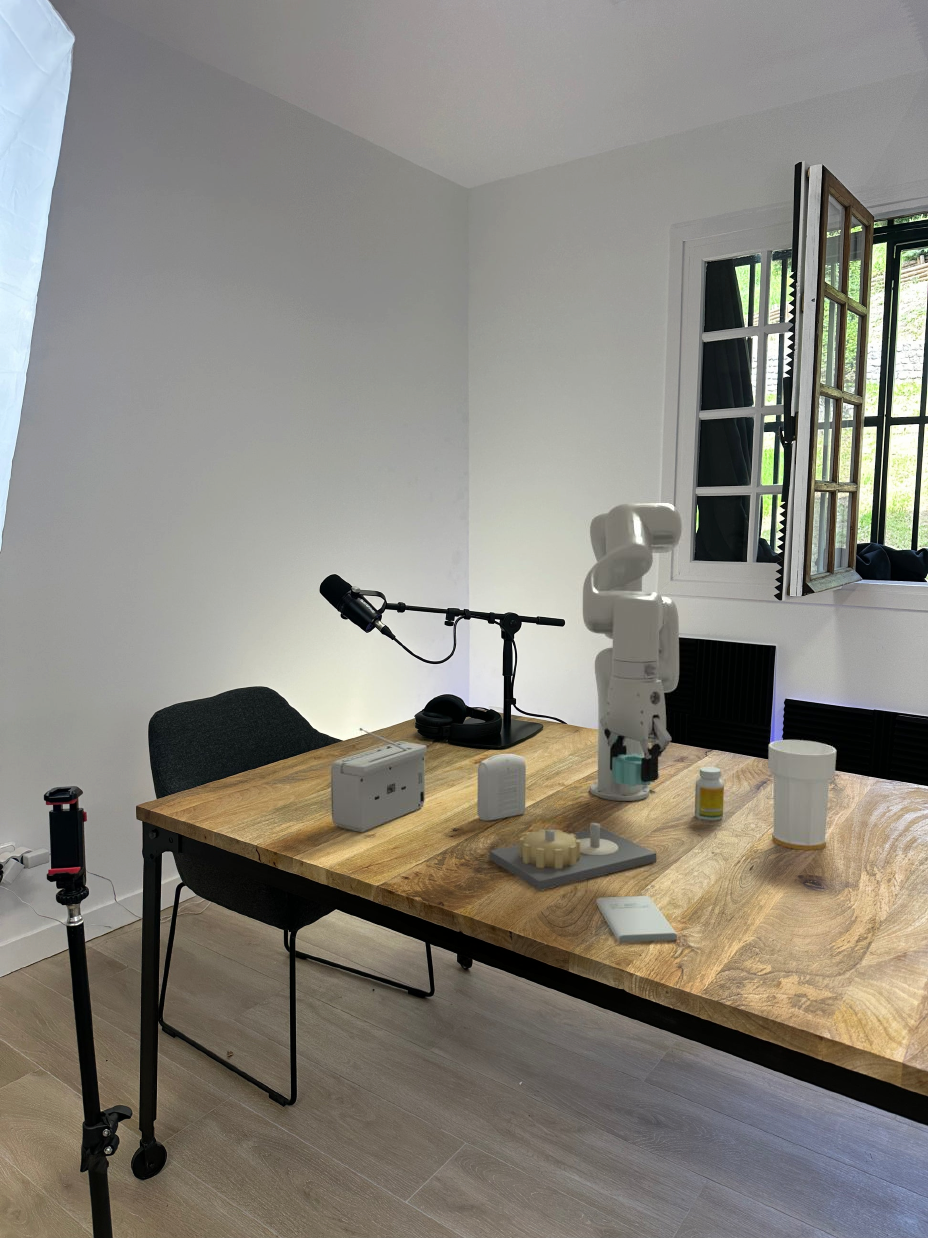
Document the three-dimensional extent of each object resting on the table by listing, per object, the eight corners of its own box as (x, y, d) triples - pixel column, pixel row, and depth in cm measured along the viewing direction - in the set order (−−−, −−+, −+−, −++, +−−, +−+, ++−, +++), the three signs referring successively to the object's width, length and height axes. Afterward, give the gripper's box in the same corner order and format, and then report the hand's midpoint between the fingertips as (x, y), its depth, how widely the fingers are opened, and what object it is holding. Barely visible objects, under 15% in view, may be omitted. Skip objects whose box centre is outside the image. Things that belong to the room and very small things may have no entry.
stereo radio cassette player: (399, 800, 179) (398, 707, 177) (430, 807, 174) (430, 711, 172) (329, 828, 162) (327, 725, 160) (361, 837, 157) (360, 730, 155)
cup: (752, 835, 157) (754, 743, 155) (799, 827, 161) (802, 737, 160) (798, 856, 147) (802, 757, 145) (847, 847, 151) (851, 751, 149)
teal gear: (634, 772, 147) (635, 751, 147) (663, 782, 141) (664, 760, 141) (603, 778, 144) (603, 757, 143) (631, 788, 138) (632, 767, 137)
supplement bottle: (689, 814, 169) (690, 767, 168) (711, 811, 171) (713, 764, 170) (705, 822, 164) (706, 774, 163) (728, 819, 166) (730, 771, 165)
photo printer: (515, 808, 173) (516, 749, 172) (528, 814, 170) (529, 753, 168) (474, 817, 168) (473, 756, 166) (486, 823, 164) (486, 761, 163)
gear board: (600, 835, 157) (600, 803, 157) (656, 861, 144) (656, 827, 144) (489, 859, 146) (489, 825, 145) (539, 890, 133) (539, 853, 132)
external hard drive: (618, 947, 116) (596, 907, 128) (677, 944, 116) (649, 905, 129) (618, 935, 116) (596, 896, 128) (677, 932, 116) (649, 894, 129)
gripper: (690, 675, 135) (687, 784, 137) (617, 661, 150) (615, 760, 152) (655, 679, 131) (653, 792, 133) (583, 664, 146) (582, 766, 148)
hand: (633, 774), depth 142 cm, fingers closed on teal gear, 7 cm apart
